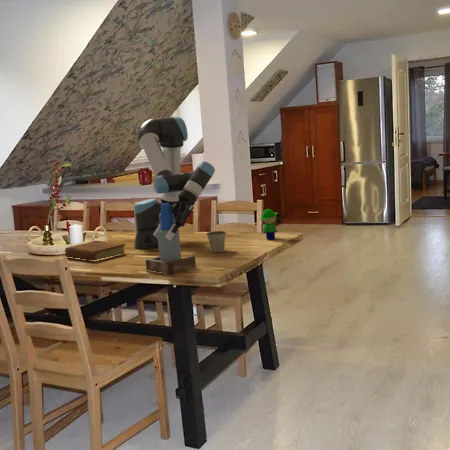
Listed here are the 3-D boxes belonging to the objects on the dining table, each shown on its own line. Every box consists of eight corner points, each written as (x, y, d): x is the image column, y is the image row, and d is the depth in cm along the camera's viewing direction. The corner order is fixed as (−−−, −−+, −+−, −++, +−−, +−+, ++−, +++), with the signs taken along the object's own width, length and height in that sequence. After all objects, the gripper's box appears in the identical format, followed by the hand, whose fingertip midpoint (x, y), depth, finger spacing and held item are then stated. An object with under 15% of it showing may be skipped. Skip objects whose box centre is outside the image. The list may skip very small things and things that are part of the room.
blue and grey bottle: (160, 266, 245) (153, 205, 241) (160, 261, 254) (154, 202, 250) (181, 264, 246) (176, 203, 242) (181, 259, 255) (176, 201, 250)
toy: (282, 238, 296) (280, 208, 294) (266, 241, 293) (264, 211, 291) (274, 236, 304) (272, 207, 302) (258, 238, 301) (256, 209, 299)
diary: (66, 259, 292) (64, 248, 291) (97, 251, 305) (95, 240, 305) (95, 263, 277) (93, 251, 276) (126, 254, 290) (125, 243, 290)
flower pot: (230, 248, 283) (229, 230, 281) (224, 253, 274) (222, 234, 272) (211, 249, 286) (210, 231, 284) (204, 253, 277) (203, 234, 276)
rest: (146, 271, 250) (145, 259, 250) (171, 263, 261) (170, 252, 260) (171, 274, 240) (170, 263, 240) (195, 267, 250) (194, 255, 250)
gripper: (210, 200, 247) (181, 245, 240) (181, 198, 264) (154, 240, 257) (199, 189, 243) (169, 235, 236) (170, 187, 260) (142, 230, 253)
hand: (161, 237), depth 246 cm, fingers closed on blue and grey bottle, 8 cm apart
